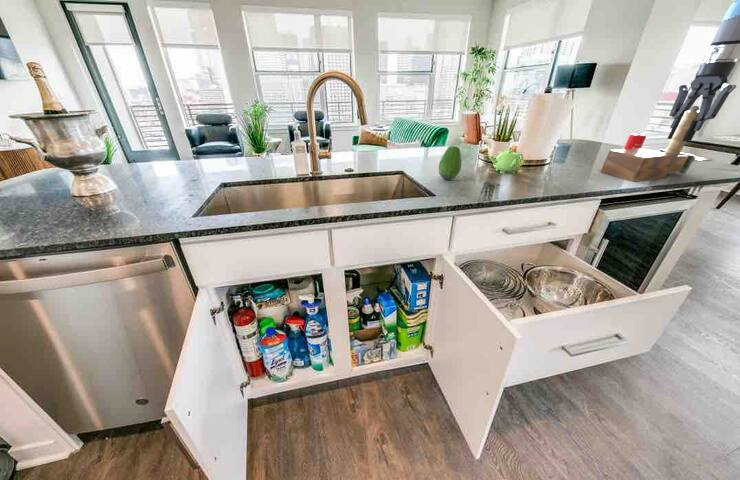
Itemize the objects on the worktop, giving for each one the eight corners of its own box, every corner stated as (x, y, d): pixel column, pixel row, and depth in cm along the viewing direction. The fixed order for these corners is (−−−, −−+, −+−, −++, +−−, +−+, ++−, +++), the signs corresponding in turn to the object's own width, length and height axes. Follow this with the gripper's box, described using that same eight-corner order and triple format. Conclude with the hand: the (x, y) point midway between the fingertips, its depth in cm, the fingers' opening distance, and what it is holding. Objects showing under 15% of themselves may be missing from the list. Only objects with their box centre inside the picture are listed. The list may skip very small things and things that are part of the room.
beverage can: (631, 163, 119) (645, 133, 113) (634, 165, 115) (648, 135, 109) (616, 161, 121) (629, 132, 115) (618, 164, 117) (631, 134, 111)
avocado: (459, 183, 97) (464, 148, 91) (436, 181, 99) (440, 147, 93) (459, 176, 103) (464, 143, 97) (438, 175, 105) (441, 143, 99)
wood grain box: (629, 169, 110) (639, 148, 106) (664, 178, 100) (676, 155, 95) (600, 172, 107) (609, 150, 103) (632, 181, 97) (644, 157, 93)
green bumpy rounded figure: (525, 171, 109) (531, 149, 105) (513, 177, 102) (519, 154, 98) (497, 166, 116) (501, 145, 112) (485, 171, 109) (489, 150, 105)
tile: (694, 157, 127) (695, 156, 126) (712, 161, 120) (712, 159, 120) (680, 157, 126) (681, 156, 126) (697, 161, 120) (698, 160, 120)
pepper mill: (672, 163, 102) (703, 105, 93) (674, 165, 100) (706, 106, 90) (658, 162, 104) (686, 105, 95) (659, 164, 102) (689, 106, 92)
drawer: (661, 165, 112) (670, 148, 109) (695, 172, 102) (705, 154, 99) (626, 168, 109) (634, 150, 105) (657, 176, 99) (667, 157, 96)
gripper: (678, 63, 93) (644, 136, 104) (748, 59, 78) (700, 144, 90) (694, 63, 94) (660, 135, 106) (766, 59, 80) (717, 143, 91)
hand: (678, 139), depth 98 cm, fingers closed on pepper mill, 4 cm apart
